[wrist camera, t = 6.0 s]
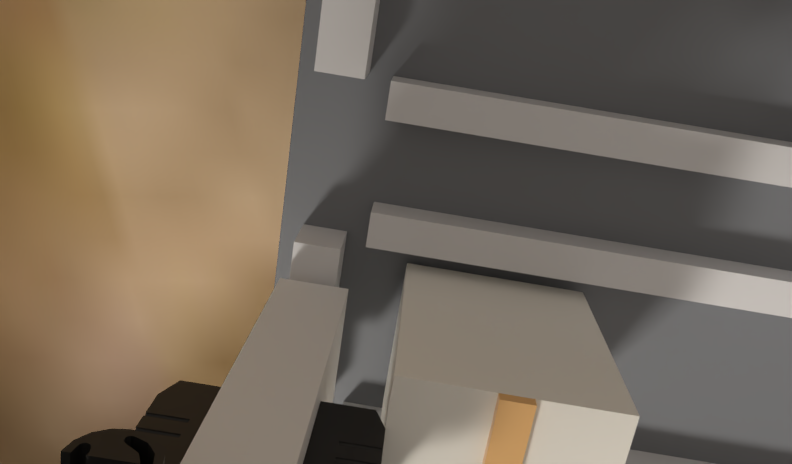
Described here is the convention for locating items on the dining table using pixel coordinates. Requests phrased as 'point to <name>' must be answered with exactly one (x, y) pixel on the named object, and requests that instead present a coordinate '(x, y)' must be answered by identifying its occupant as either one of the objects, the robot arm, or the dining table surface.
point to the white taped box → (501, 376)
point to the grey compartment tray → (564, 189)
